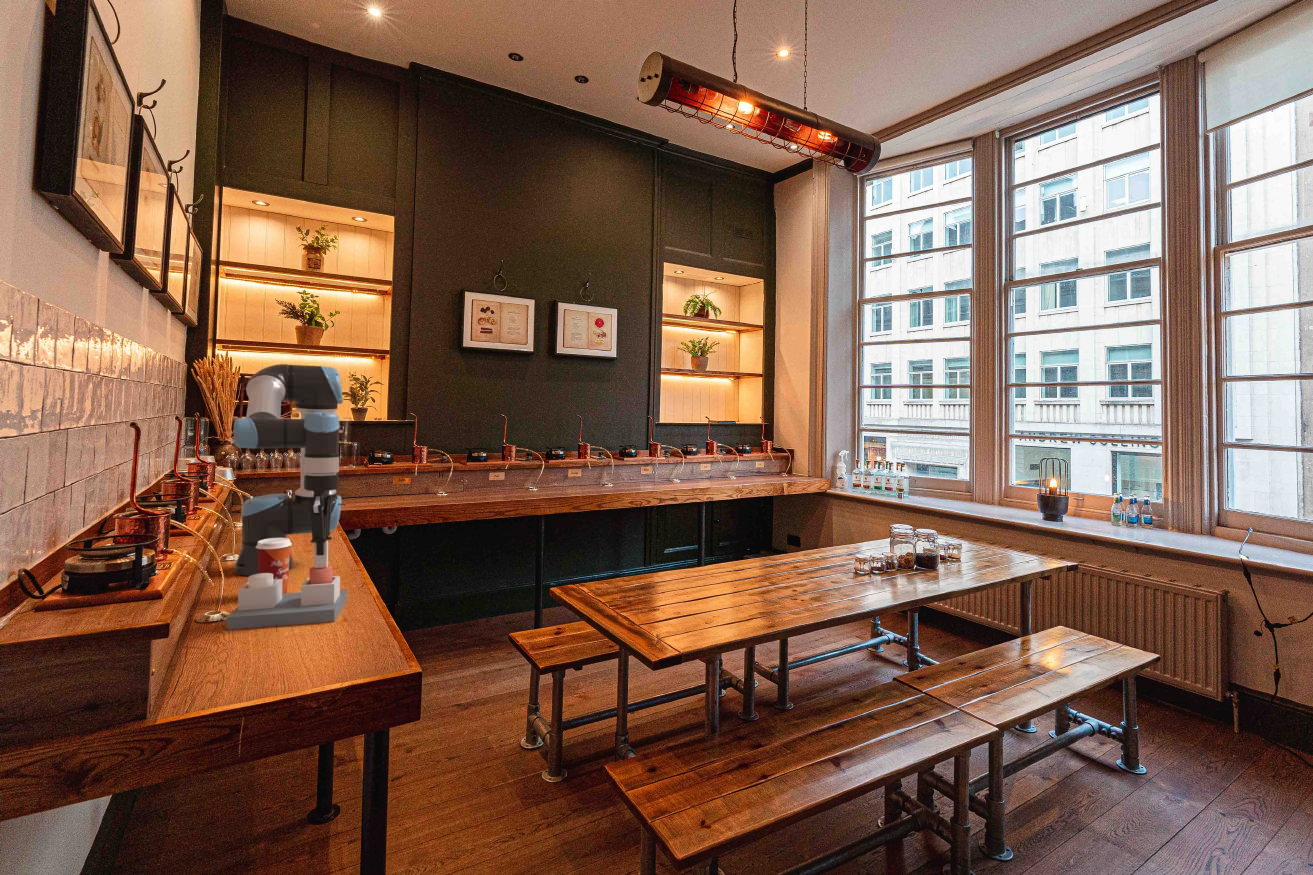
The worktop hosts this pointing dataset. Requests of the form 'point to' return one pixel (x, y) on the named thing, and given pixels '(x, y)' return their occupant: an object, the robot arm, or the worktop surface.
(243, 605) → the board
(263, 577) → the plug
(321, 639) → the worktop surface
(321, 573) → the red plug
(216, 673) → the worktop surface
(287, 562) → the coffee cup
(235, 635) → the worktop surface
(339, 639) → the worktop surface
